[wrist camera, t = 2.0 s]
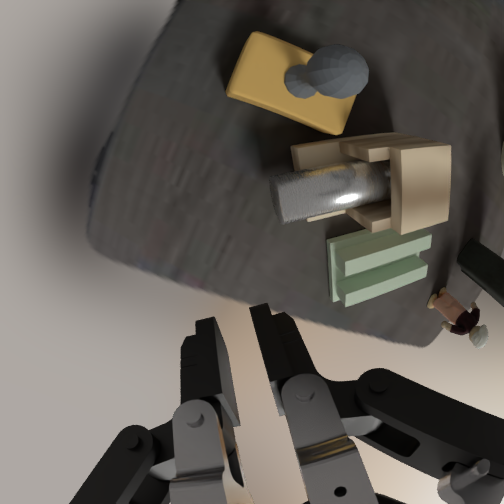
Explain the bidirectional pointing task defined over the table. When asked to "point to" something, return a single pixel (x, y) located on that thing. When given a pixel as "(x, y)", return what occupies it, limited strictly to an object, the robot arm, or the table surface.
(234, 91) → the rubber stamp
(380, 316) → the table surface
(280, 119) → the table surface
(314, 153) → the beige block
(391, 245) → the cradle
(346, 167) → the axle
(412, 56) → the table surface
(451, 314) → the grandmother figurine
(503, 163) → the reusable coffee cup
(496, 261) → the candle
